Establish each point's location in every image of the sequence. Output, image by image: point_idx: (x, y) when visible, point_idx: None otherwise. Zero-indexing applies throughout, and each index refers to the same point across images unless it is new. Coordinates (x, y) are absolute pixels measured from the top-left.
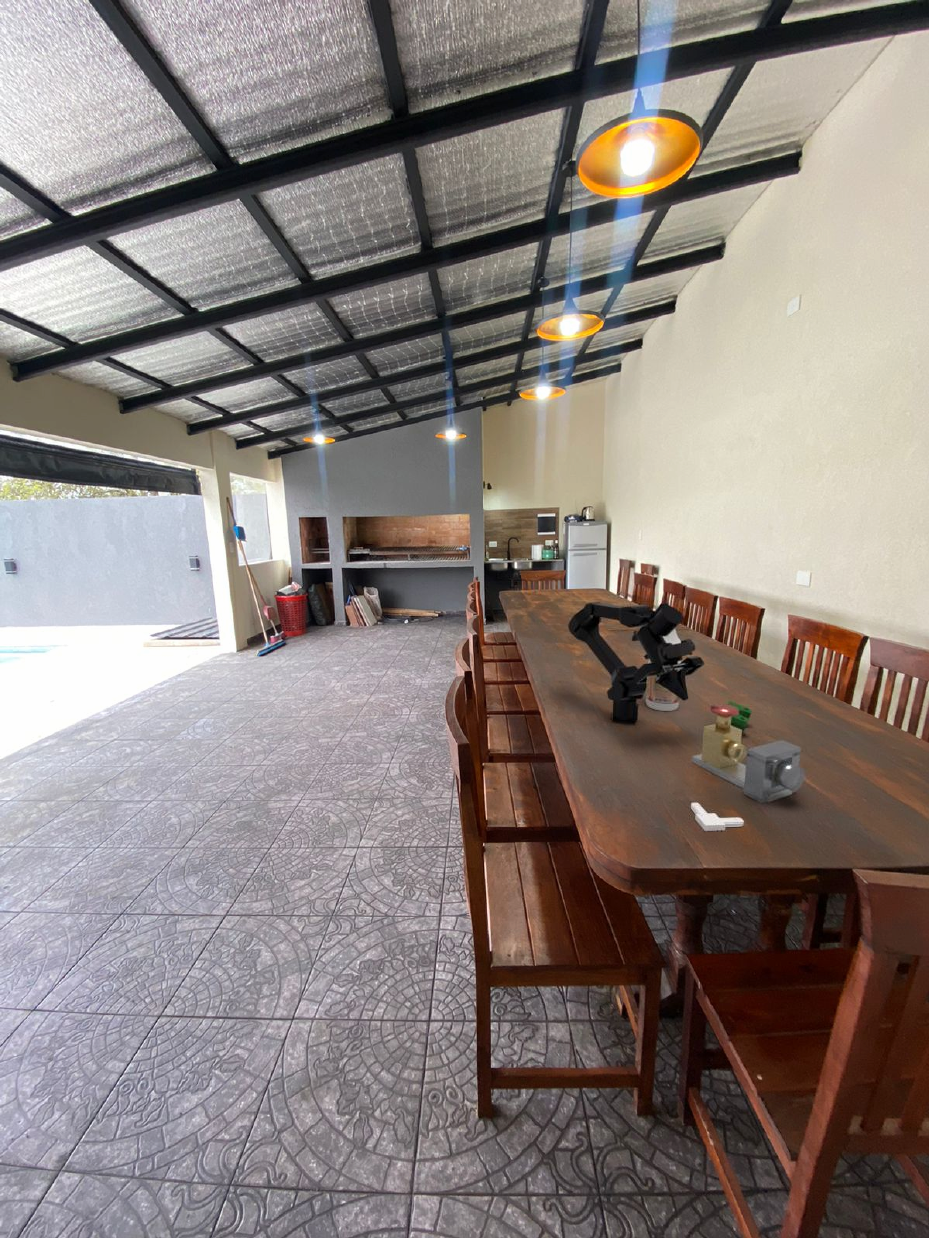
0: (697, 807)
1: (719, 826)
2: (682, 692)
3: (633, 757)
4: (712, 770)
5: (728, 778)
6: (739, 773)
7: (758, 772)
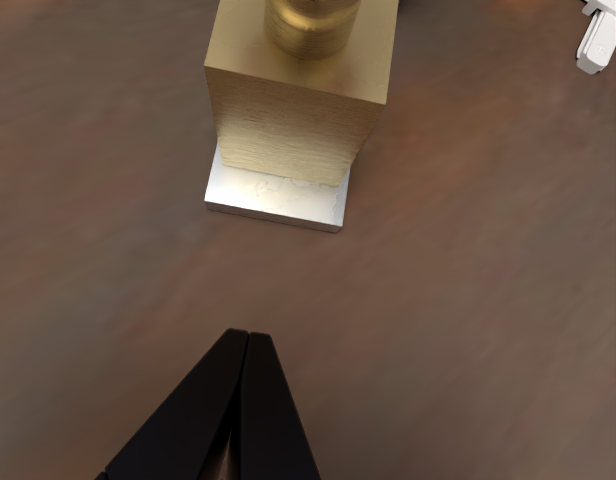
0: (605, 45)
1: None
2: (284, 393)
3: (514, 410)
4: None
5: None
6: None
7: None
